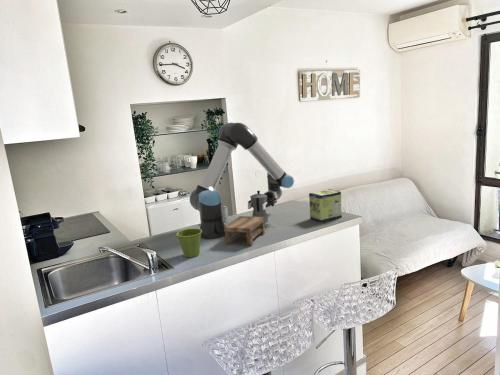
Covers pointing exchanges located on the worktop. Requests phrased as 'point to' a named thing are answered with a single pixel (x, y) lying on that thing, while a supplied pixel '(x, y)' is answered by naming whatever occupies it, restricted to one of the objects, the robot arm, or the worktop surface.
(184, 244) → the plant pot
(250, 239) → the stool
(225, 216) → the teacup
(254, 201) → the coffeepot
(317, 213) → the protein box
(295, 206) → the worktop surface
